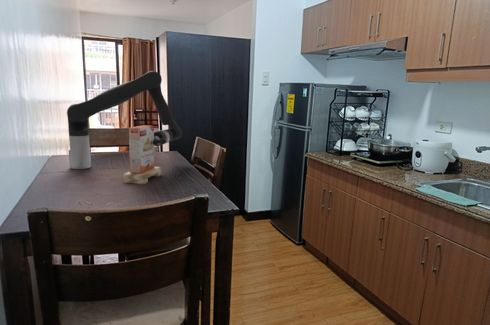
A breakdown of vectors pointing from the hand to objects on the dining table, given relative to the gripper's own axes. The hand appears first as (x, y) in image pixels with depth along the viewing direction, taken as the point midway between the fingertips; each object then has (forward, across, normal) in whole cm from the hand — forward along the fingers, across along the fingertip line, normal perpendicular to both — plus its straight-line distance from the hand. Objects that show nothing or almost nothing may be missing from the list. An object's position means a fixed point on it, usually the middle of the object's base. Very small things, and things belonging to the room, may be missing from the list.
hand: (145, 142), depth 154 cm
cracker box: (+3, 0, +13) cm, 14 cm away
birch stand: (+3, 0, +17) cm, 17 cm away
